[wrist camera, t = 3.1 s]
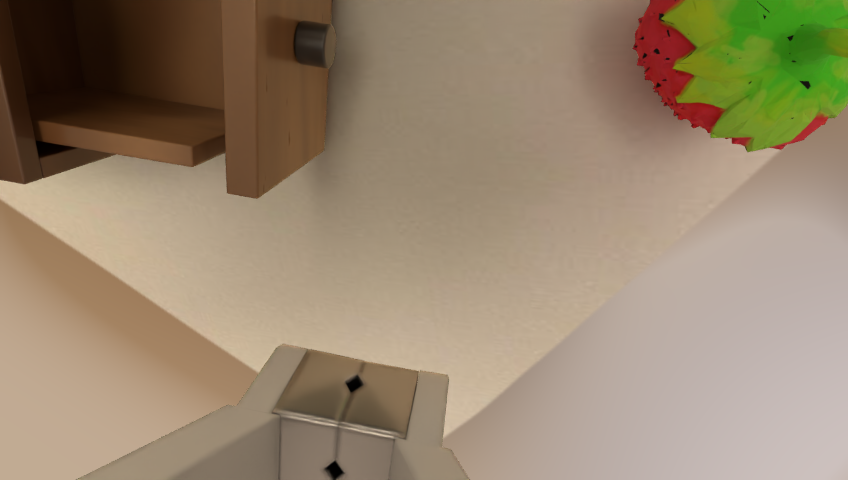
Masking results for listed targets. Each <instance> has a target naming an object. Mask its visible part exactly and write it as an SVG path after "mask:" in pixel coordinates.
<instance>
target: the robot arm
mask: <svg viewBox="0 0 848 480" xmlns="http://www.w3.org/2000/svg"><path fill="white" fill-rule="evenodd" d="M418 375H419V377H418ZM417 381H418V382H417ZM448 384H449V377H448V375H446V374H440V373H434V372H428V371H421V370H420V373H419V371H416V370H411V369H405V368H400V367H395V366H389V365H384V364H378V363H373V362H367V361H364V360H359V359H354V358H350V357H345V356H340V355H336V354H331V353H326V352H322V351H317V350H312V349H310V350H309V349H306V348H301V347H296V346H291V345H286V344H282V345H280V346H278V347H277V348H276V349H275V350H274V352H273V353H272V355H271V356H270V358H269V359H268V361H267V362H266V363H265V365H264V366H263V368H262V369H261V371H260V372H259V374H258V375H257V377H256V378H255V380H254V381H253V382H252V384H251V385H250V387H249V388H248V390H247V391H246V393H245V394H244V396H243V397H242V399H241V400H240V402H239V403H238V404H237V406H231V405H226V406H224V407H222V408H220V409H218V410H216V411H214V412H212V413H210V414H208V415H206V416H204V417H202V418H200V419H198V420H196V421H194V422H192V423H190V424H188V425H186V426H184V427H182V428H180V429H178V430H175V431H174V432H171V433H169V434H168V435H165V436H163V437H161V438H159V439H157V440H156V441H153V442H151V443H149V444H147V445H145V446H143V447H141V448H139V449H137V450H135V451H133V452H131V453H129V454H127V455H125V456H123V457H121V458H119V459H117V460H115V461H113V462H111V463H109V464H107V465H105V466H103V467H101V468H99V469H97V470H95V471H93V472H91V473H89V474H87V475H85V476H83V477H81V478H78V479H76V480H470V479H469V478H468V476H467V475H466V473H465V471H464V469H463V468H462V466H461V465H460V463H459V461H458V460H457V458H456V457H455V455H454V453H453V452H452V450H451V449H448V448H443V447H442V441H443V431H444V422H445V412H446V403H447V393H448Z"/></svg>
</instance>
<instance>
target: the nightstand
mask: <svg viewBox="0 0 848 480" xmlns="http://www.w3.org/2000/svg"><path fill="white" fill-rule="evenodd" d="M113 155H116V154H112V153H106V152H101V151H95V150H89V149H83V148H77V147H71V146H65V145H60V144H54V143H48V142H42V141H36V140H35V136H34V131H33V126H32V121H31V116H30V111H29V106H28V101H27V96H26V91H25V86H24V81H23V76H22V71H21V66H20V61H19V56H18V51H17V46H16V41H15V36H14V31H13V26H12V21H11V16H10V11H9V6H8V1H7V0H0V180H4V181H9V182H15V183H21V184H27V183H30V182H33V181H36V180H39V179H42V178H46V177H49V176H52V175H55V174H58V173H61V172H64V171H67V170H70V169H73V168H76V167H79V166H82V165H85V164H88V163H92V162H95V161H98V160H101V159H104V158H107V157H110V156H113Z"/></svg>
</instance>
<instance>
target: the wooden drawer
mask: <svg viewBox="0 0 848 480" xmlns="http://www.w3.org/2000/svg"><path fill="white" fill-rule="evenodd" d="M7 1H8V6H9V11H10V16H11V21H12V26H13V31H14V36H15V41H16V46H17V51H18V56H19V61H20V66H21V71H22V76H23V81H24V86H25V91H26V96H27V101H28V106H29V111H30V116H31V121H32V126H33V131H34V136H35V140H36V141H42V142H48V143H54V144H60V145H65V146H71V147H77V148H83V149H89V150H95V151H101V152H106V153H112V154H118V155H124V156H130V157H136V158H142V159H148V160H153V161H159V162H165V163H171V164H177V165H183V166H189V167H194V166H197V165H199V164H201V163H203V162H205V161H208V160H210V159H212V158H214V157H216V156H219V155H221V154H223V153H226V181H227V193H228V194H233V195H239V196H245V197H251V198H256V199H257V198H259V197H261V196H262V195H264V194H265V193H266V192H268V191H269V190H270V189H272V188H273V187H275V186H276V185H277V184H279V183H280V182H281V181H283V180H284V179H286V178H287V177H288V176H290V175H291V174H293V173H294V172H295V171H297V170H298V169H299V168H301V167H302V166H304V165H305V164H306V163H308V162H309V161H310V160H312V159H313V158H315V157H316V156H317V155H319V154H320V153H321V152H323V151H324V150H325V131H326V111H327V91H328V72H329V68H330V67H331V66H332V64H333V61H334V58H335V52H336V34H335V30H334V27H333V26H332V25H331V13H332V0H7Z"/></svg>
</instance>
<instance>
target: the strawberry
mask: <svg viewBox="0 0 848 480" xmlns="http://www.w3.org/2000/svg"><path fill="white" fill-rule="evenodd" d="M638 20H639V23H640V25H639V27H638V29H637V30H636V32H635V42H636V43H635V45H634V47H633V48H632V49H634V50H636V51H637V54H638V57H639V58H638V62H637V65H639V66H644V68H645V71H644V72H645V73H644V74H646V76H645V80H651V81H652V83H653V84H654V87H653V89H655V91H654V92H658V95H661V96H662V101H661V102H665V103H664V106H666V105H668V106H670V108H671V110H672V109H673V110H674V116H676V115H678V119H679V120H683V119H687V120H689V121H690V122H691V124H692V125H691V127H693V128H696V127H699V126H700V127H702V128H704V129H706V130H707V132H708V133H711V138H725V139H728V138H732V143H733V144H741V145H743V146H745V148H746V150H747V152H751V151H756V150H761V149H765V148H775V149H780V150H781V149H782V148H784V147H785V146H786V145H787V144H791V143H795V142H798V141H802V140H804V139H805V138H806V137H807V136H808V135H809V134H811V133H812V132H813V131H815V130H816V129H817V128H818V127H820V126H821V125H824V124H825V123H826V121H827V119H828V118H835V117H836V116H837V115H838V114H839V113H840V112H841V111H842V110H843V109H844V108H845V107H846V106H847V104H848V0H650V5H649V7H648V8H647V10H646V12H645V14H644V16H643V17H642V18H639V19H638Z"/></svg>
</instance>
